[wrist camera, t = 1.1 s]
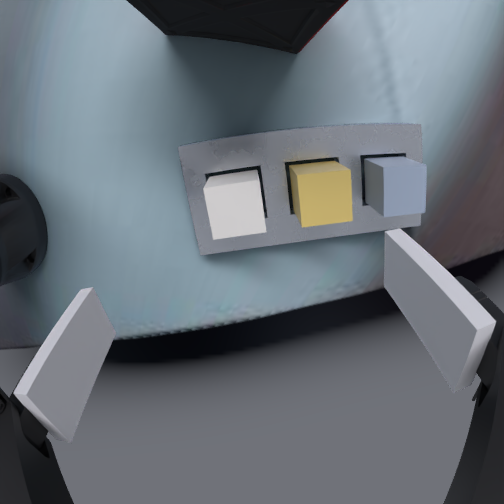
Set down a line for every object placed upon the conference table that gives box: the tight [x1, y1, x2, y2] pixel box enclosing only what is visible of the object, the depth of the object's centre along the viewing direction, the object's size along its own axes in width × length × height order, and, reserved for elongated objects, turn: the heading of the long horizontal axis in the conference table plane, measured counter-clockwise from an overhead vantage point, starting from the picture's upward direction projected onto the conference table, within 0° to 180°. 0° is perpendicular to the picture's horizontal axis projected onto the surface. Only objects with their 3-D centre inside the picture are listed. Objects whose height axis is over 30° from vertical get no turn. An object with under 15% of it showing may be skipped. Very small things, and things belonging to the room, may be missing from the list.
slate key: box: [364, 157, 426, 217], centre depth 28 cm, size 5×5×5 cm
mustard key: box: [289, 161, 353, 228], centre depth 28 cm, size 5×5×5 cm
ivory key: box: [203, 170, 266, 240], centre depth 29 cm, size 5×5×5 cm
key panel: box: [178, 123, 422, 255], centre depth 32 cm, size 26×12×2 cm, turn 98°
